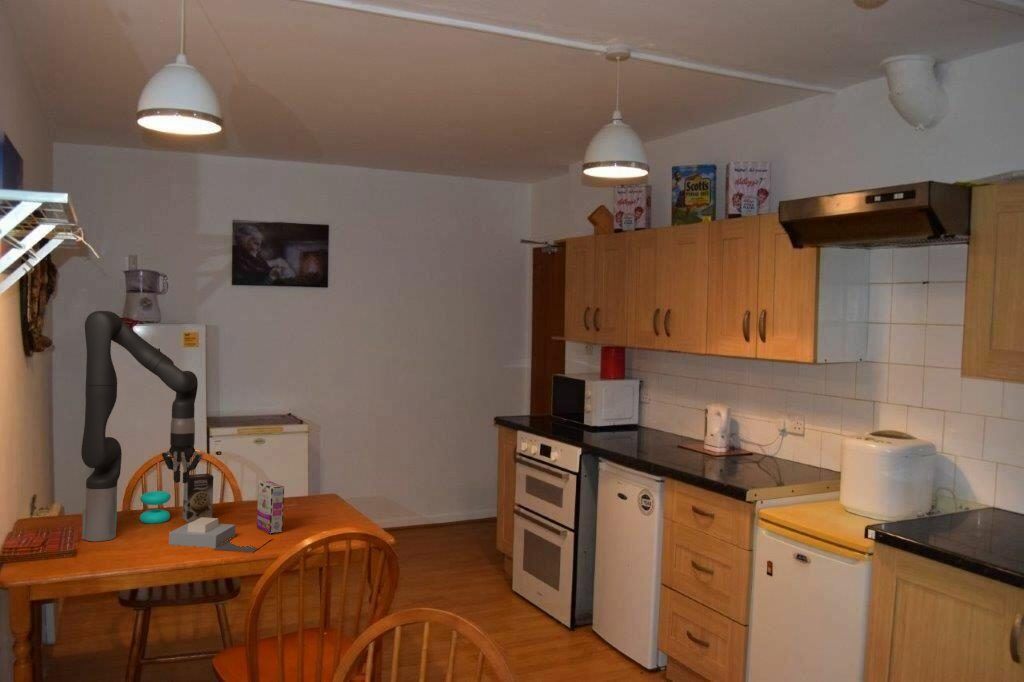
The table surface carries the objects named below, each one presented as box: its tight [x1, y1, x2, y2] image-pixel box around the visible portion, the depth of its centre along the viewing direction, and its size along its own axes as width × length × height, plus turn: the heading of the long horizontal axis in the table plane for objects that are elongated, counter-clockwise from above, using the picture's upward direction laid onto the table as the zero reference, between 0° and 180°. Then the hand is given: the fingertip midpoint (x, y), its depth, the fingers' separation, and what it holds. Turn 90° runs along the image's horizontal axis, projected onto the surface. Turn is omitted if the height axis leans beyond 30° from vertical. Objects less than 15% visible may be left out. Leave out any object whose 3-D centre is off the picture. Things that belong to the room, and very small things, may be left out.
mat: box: [213, 539, 258, 553], centre depth 262 cm, size 13×16×1 cm
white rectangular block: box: [188, 517, 219, 533], centre depth 264 cm, size 6×9×2 cm, turn 174°
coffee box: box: [182, 473, 214, 523], centre depth 290 cm, size 9×6×16 cm
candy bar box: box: [256, 480, 285, 535], centre depth 279 cm, size 11×5×16 cm, turn 42°
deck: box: [168, 522, 236, 549], centre depth 264 cm, size 16×14×4 cm
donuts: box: [139, 490, 172, 524], centre depth 286 cm, size 10×10×10 cm
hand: (181, 482), depth 264 cm, fingers closed
